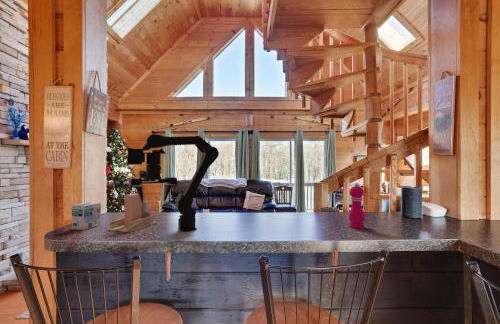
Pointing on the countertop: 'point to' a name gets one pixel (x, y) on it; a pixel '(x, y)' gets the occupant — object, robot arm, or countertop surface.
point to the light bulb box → (86, 215)
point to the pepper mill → (356, 208)
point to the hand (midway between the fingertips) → (153, 201)
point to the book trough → (137, 224)
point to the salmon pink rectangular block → (132, 208)
